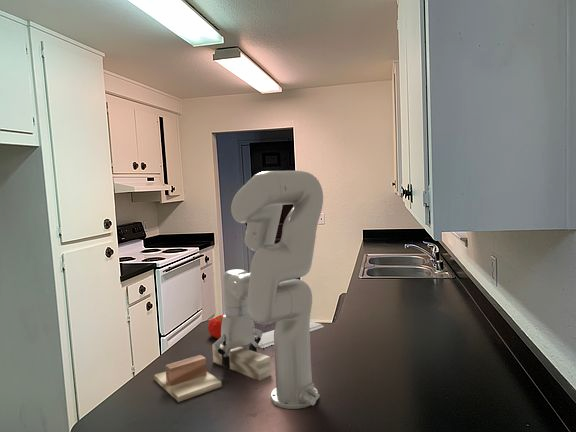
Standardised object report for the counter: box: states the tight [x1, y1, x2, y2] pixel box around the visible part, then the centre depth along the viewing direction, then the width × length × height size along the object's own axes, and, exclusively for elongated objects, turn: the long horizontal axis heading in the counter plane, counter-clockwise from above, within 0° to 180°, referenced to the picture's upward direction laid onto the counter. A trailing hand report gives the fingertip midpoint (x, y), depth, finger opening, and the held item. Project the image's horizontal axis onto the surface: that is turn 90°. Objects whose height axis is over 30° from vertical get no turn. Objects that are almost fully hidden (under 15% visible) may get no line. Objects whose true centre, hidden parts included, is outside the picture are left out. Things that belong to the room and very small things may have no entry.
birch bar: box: [211, 344, 271, 382], centre depth 133 cm, size 22×4×6 cm, turn 47°
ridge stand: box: [153, 354, 223, 403], centre depth 124 cm, size 18×13×6 cm
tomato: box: [207, 314, 224, 340], centre depth 163 cm, size 11×11×8 cm
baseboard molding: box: [255, 320, 325, 350], centre depth 162 cm, size 31×3×12 cm
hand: (240, 363), depth 133 cm, fingers open, 9 cm apart
